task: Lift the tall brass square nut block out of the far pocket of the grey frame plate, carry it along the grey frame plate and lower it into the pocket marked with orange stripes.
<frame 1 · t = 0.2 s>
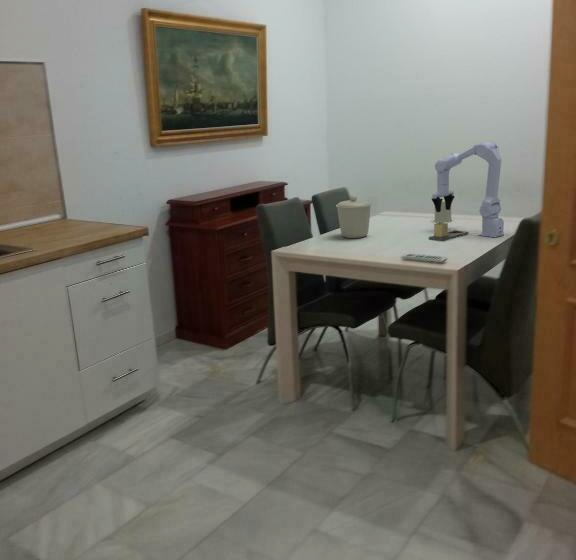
hand: (443, 210, 323), 10 cm above the table, tool pointing down, fingers open, 7 cm apart
can: (442, 221, 350), on the table
nut block: (441, 239, 305), resting in grey frame plate
grey frame plate: (448, 236, 309), on the table
canister: (354, 236, 324), on the table
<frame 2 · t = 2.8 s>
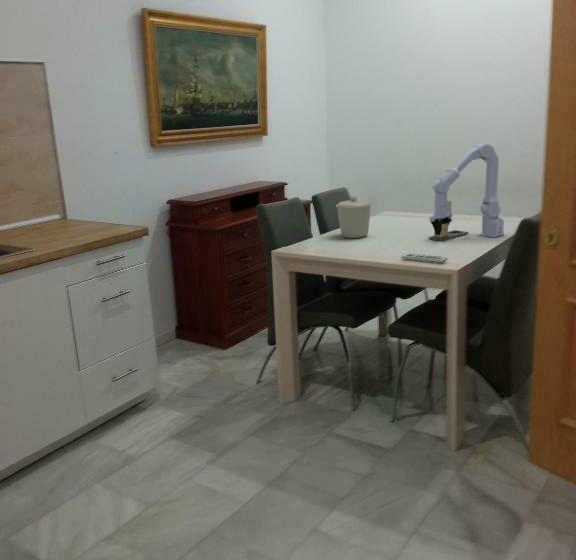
hand: (441, 234, 305), 2 cm above the table, tool pointing down, fingers closed on nut block, 4 cm apart
nut block: (441, 239, 305), resting in grey frame plate, touching gripper
everything else where it was.
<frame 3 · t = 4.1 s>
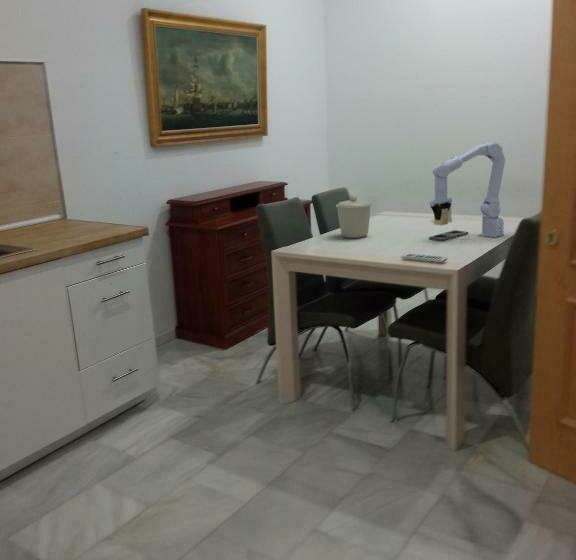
hand: (441, 219, 303), 10 cm above the table, tool pointing down, fingers closed on nut block, 4 cm apart
nut block: (441, 224, 303), point 7 cm above the table, touching gripper
everything else where it was.
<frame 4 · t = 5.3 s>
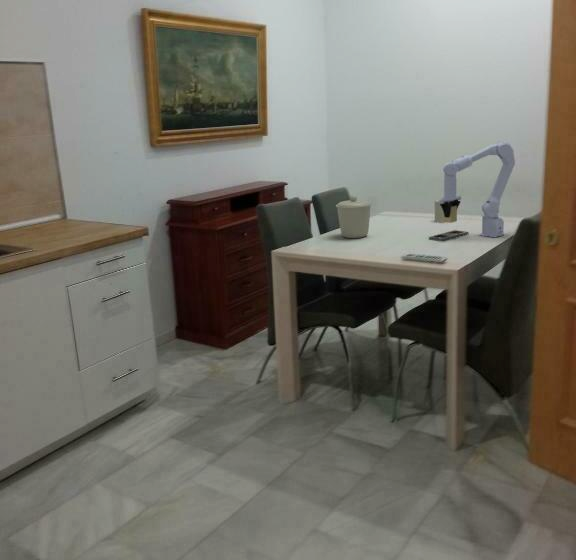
hand: (450, 216, 307), 10 cm above the table, tool pointing down, fingers closed on nut block, 4 cm apart
nut block: (450, 221, 307), point 7 cm above the table, touching gripper
everything else where it was.
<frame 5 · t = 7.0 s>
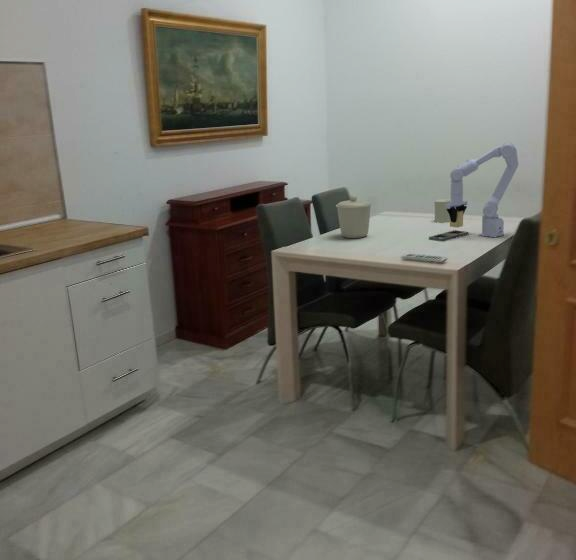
hand: (456, 221, 311), 7 cm above the table, tool pointing down, fingers closed on nut block, 4 cm apart
nut block: (456, 226, 311), point 4 cm above the table, touching gripper
everything else where it was.
when the fingers open (3 cm above the table, at t = 8.2 s): nut block drops 1 cm, resting in grey frame plate.
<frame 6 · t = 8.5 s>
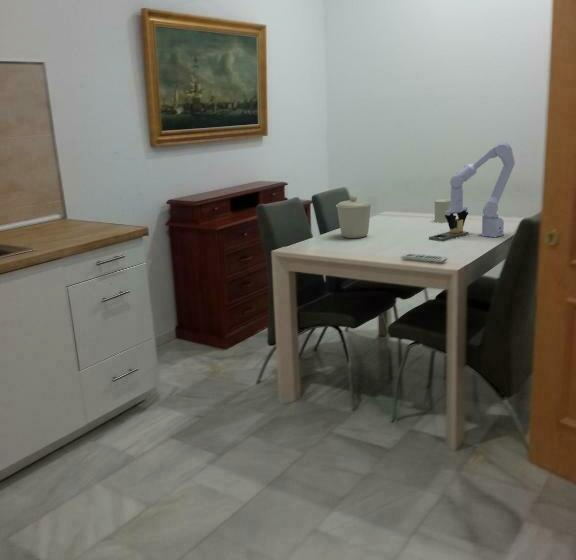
hand: (456, 227, 311), 4 cm above the table, tool pointing down, fingers open, 7 cm apart
nut block: (456, 234, 312), resting in grey frame plate
everything else where it was.
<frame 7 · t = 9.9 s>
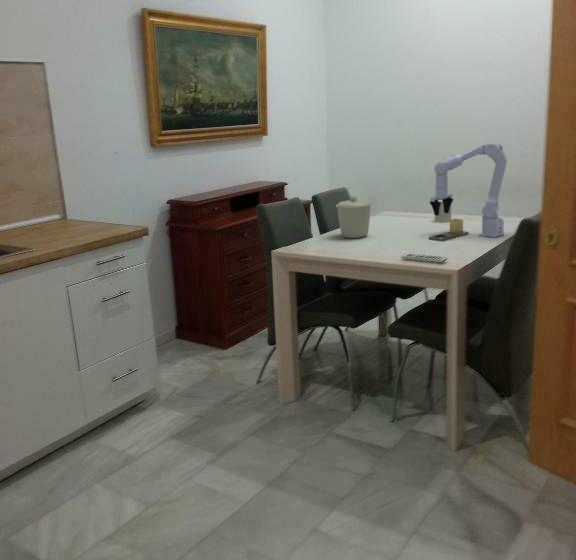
hand: (441, 214, 314), 10 cm above the table, tool pointing down, fingers open, 7 cm apart
nothing on the table moved.
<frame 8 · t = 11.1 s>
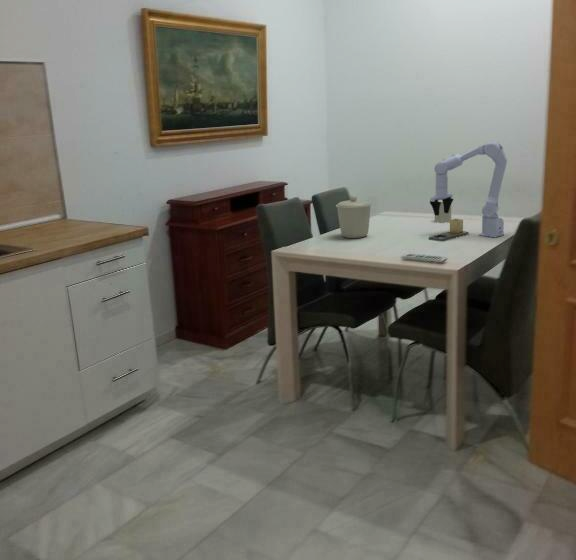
hand: (441, 214, 314), 10 cm above the table, tool pointing down, fingers open, 7 cm apart
nothing on the table moved.
at the end: nut block 0.1 cm from the target spot on the grey frame plate, point 0.0 cm above the grey frame plate's base; nut block tilted 0°; the gripper is holding nothing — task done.
